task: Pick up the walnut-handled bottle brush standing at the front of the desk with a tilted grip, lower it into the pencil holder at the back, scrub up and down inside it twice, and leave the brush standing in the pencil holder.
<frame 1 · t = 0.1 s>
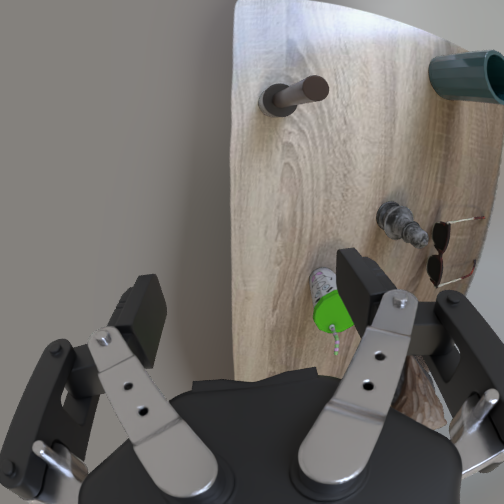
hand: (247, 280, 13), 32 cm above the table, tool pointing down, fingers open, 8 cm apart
sunglasses: (456, 242, 50), on the table
pencil holder: (445, 77, 36), on the table
brush: (273, 102, 38), on the table
chess piece: (388, 215, 47), on the table
cup: (321, 277, 51), on the table
brown rock: (404, 368, 66), on the table
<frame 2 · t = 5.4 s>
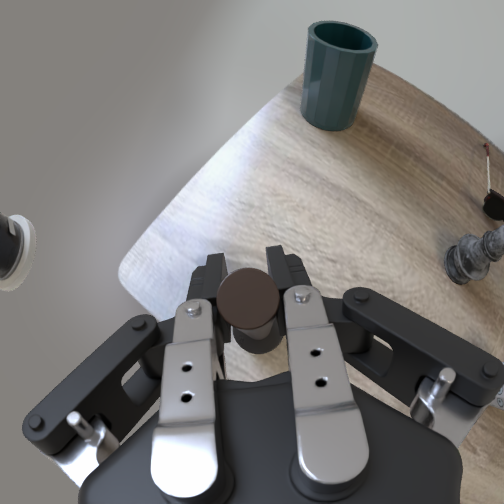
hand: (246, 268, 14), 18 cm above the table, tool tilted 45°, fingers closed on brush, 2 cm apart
sunglasses: (503, 192, 34), on the table
pencil holder: (328, 111, 39), on the table
brush: (259, 331, 30), on the table, touching gripper
chess piece: (458, 265, 31), on the table
cup: (480, 383, 26), on the table
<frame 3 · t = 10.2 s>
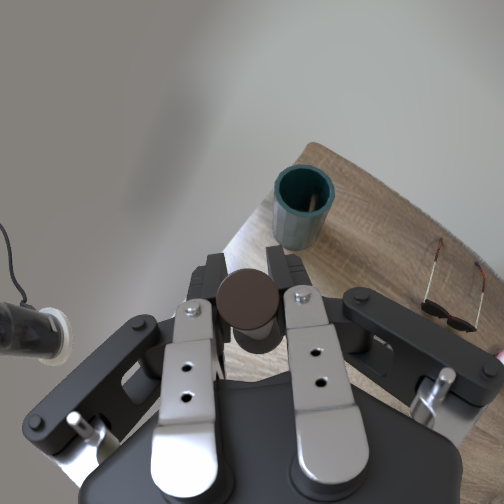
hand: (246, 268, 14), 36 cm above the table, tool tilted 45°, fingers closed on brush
sunglasses: (449, 284, 48), on the table
pencil holder: (295, 228, 53), on the table
brush: (260, 331, 30), point 18 cm above the table, touching gripper
pink round piece: (495, 366, 41), on the table
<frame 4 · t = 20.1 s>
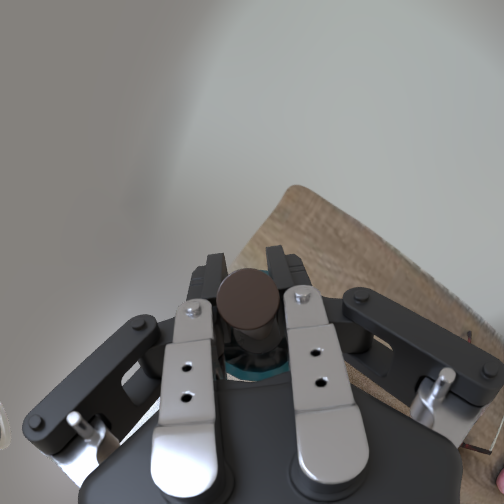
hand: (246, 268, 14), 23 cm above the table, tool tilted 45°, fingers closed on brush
pencil holder: (260, 332, 34), on the table
brush: (260, 331, 30), point 5 cm above the table, touching gripper
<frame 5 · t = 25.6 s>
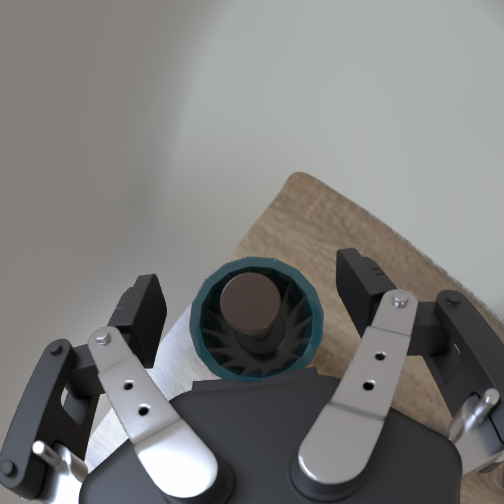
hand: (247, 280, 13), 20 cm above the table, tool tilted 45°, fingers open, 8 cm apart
pencil holder: (260, 332, 31), on the table
brush: (260, 332, 30), point 1 cm above the table, touching pencil holder
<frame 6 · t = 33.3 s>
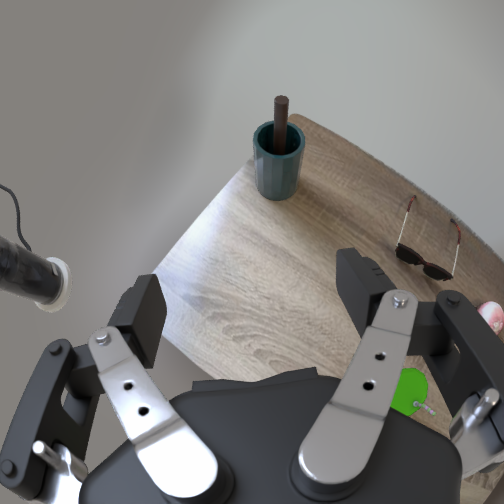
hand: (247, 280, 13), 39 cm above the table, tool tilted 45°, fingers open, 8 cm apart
sunglasses: (425, 237, 53), on the table
pencil holder: (276, 182, 58), on the table
brush: (277, 180, 57), point 1 cm above the table, touching pencil holder
pink round piece: (479, 321, 47), on the table
cup: (381, 385, 45), on the table
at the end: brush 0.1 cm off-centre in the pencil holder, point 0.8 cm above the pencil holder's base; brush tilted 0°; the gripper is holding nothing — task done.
